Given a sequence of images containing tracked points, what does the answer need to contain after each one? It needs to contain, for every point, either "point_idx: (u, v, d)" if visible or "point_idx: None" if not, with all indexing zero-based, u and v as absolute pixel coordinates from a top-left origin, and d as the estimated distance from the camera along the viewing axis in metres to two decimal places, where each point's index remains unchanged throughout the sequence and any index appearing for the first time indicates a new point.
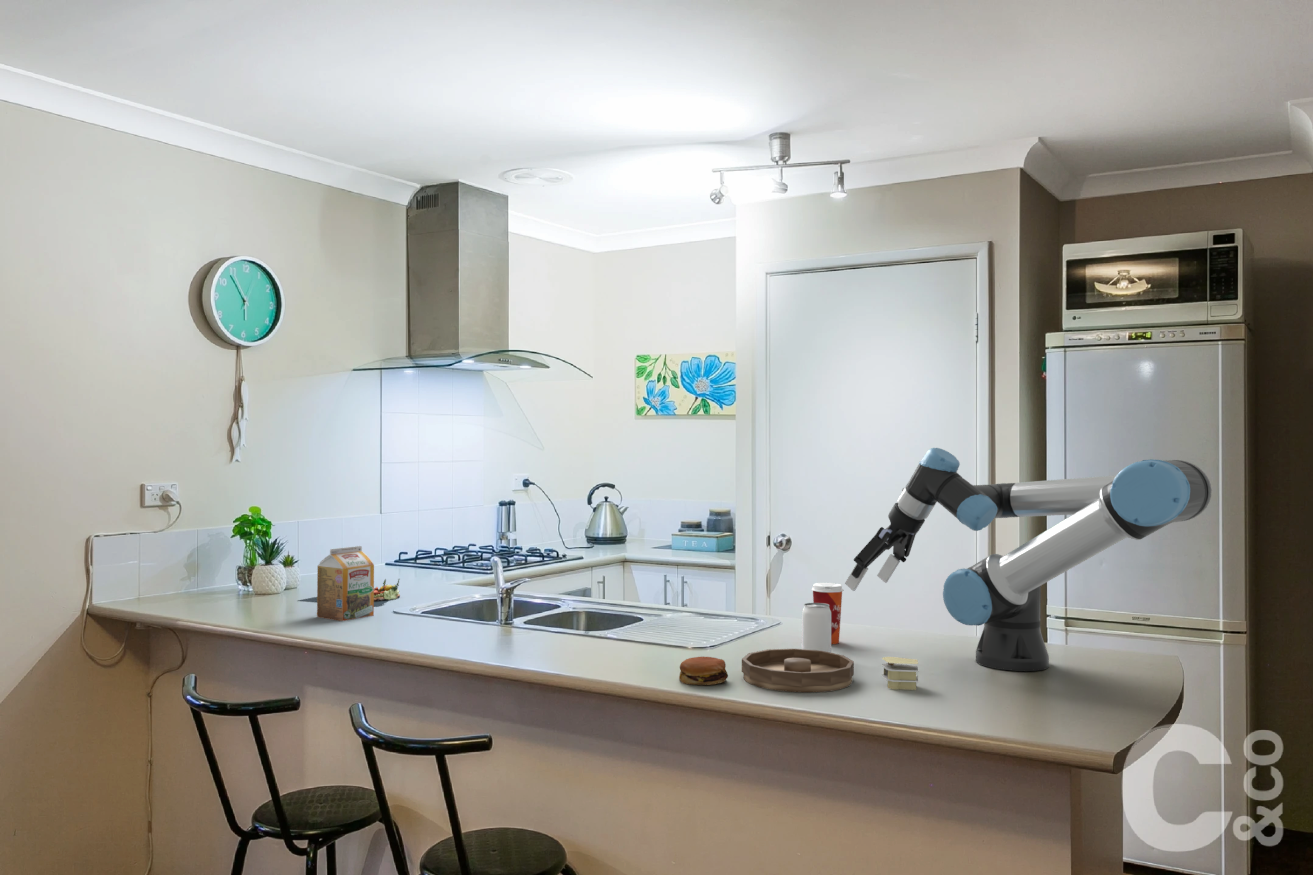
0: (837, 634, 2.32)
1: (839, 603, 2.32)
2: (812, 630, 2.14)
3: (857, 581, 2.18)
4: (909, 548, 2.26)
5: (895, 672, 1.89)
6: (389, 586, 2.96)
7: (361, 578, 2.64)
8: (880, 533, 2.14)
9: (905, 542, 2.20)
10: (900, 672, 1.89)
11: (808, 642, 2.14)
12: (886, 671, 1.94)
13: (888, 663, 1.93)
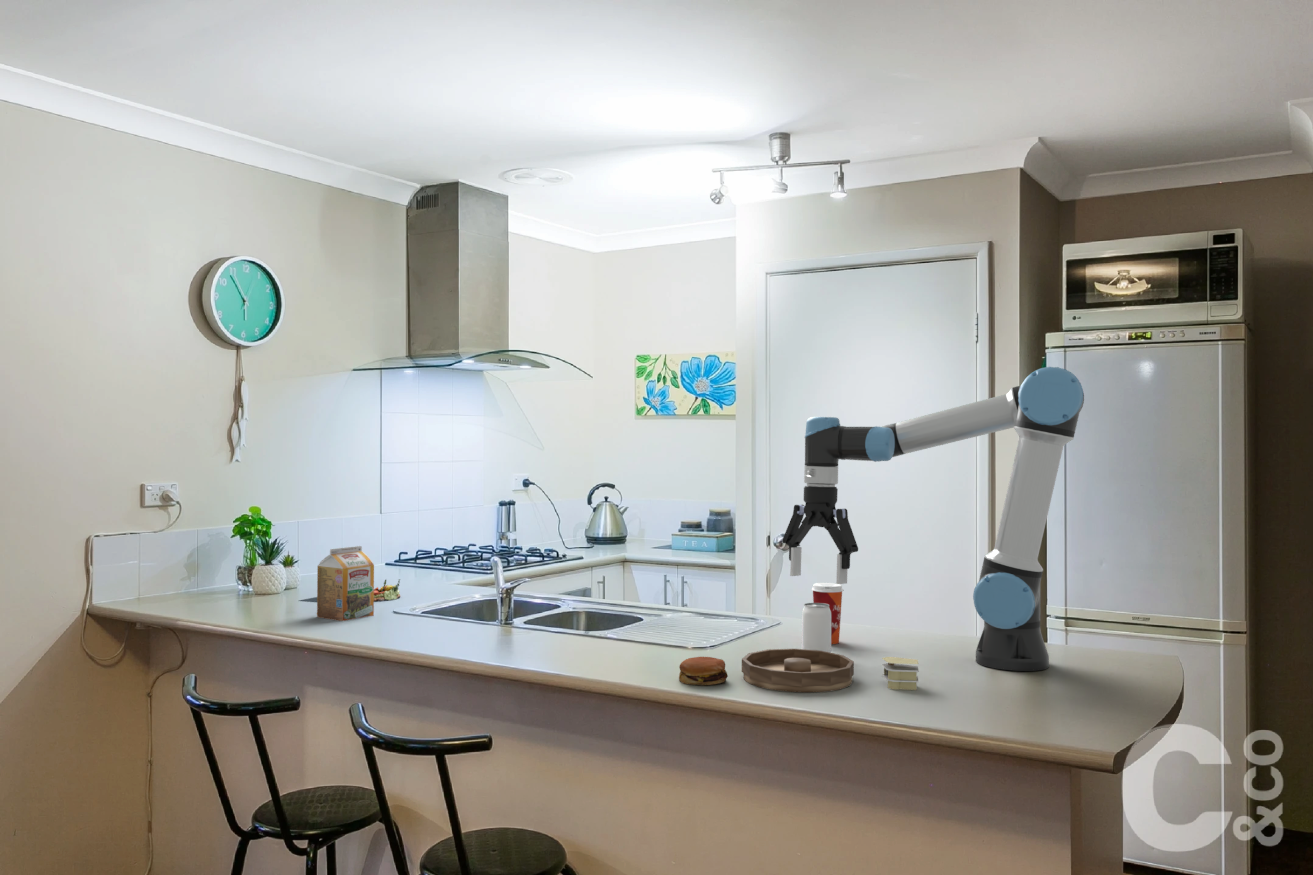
0: (837, 634, 2.32)
1: (839, 603, 2.32)
2: (812, 630, 2.14)
3: (846, 571, 2.12)
4: None
5: (895, 672, 1.89)
6: (389, 586, 2.96)
7: (361, 578, 2.64)
8: (843, 514, 2.12)
9: None
10: (900, 672, 1.89)
11: (808, 642, 2.14)
12: (886, 671, 1.94)
13: (888, 663, 1.93)
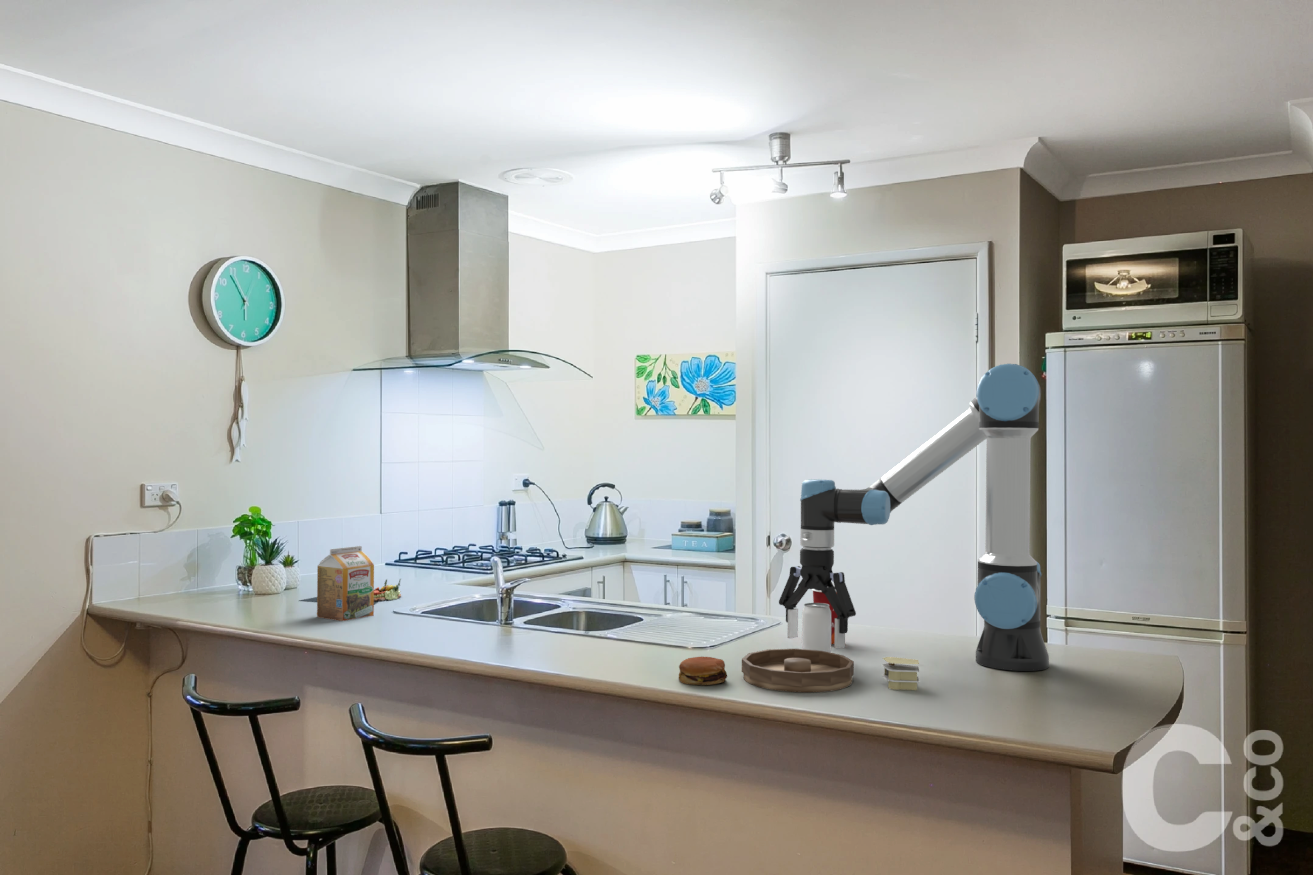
0: None
1: None
2: (812, 630, 2.14)
3: (844, 635, 2.12)
4: None
5: (896, 672, 1.89)
6: (390, 586, 2.96)
7: (361, 578, 2.64)
8: (840, 578, 2.11)
9: None
10: (901, 672, 1.89)
11: (808, 642, 2.14)
12: (887, 671, 1.94)
13: (889, 663, 1.93)
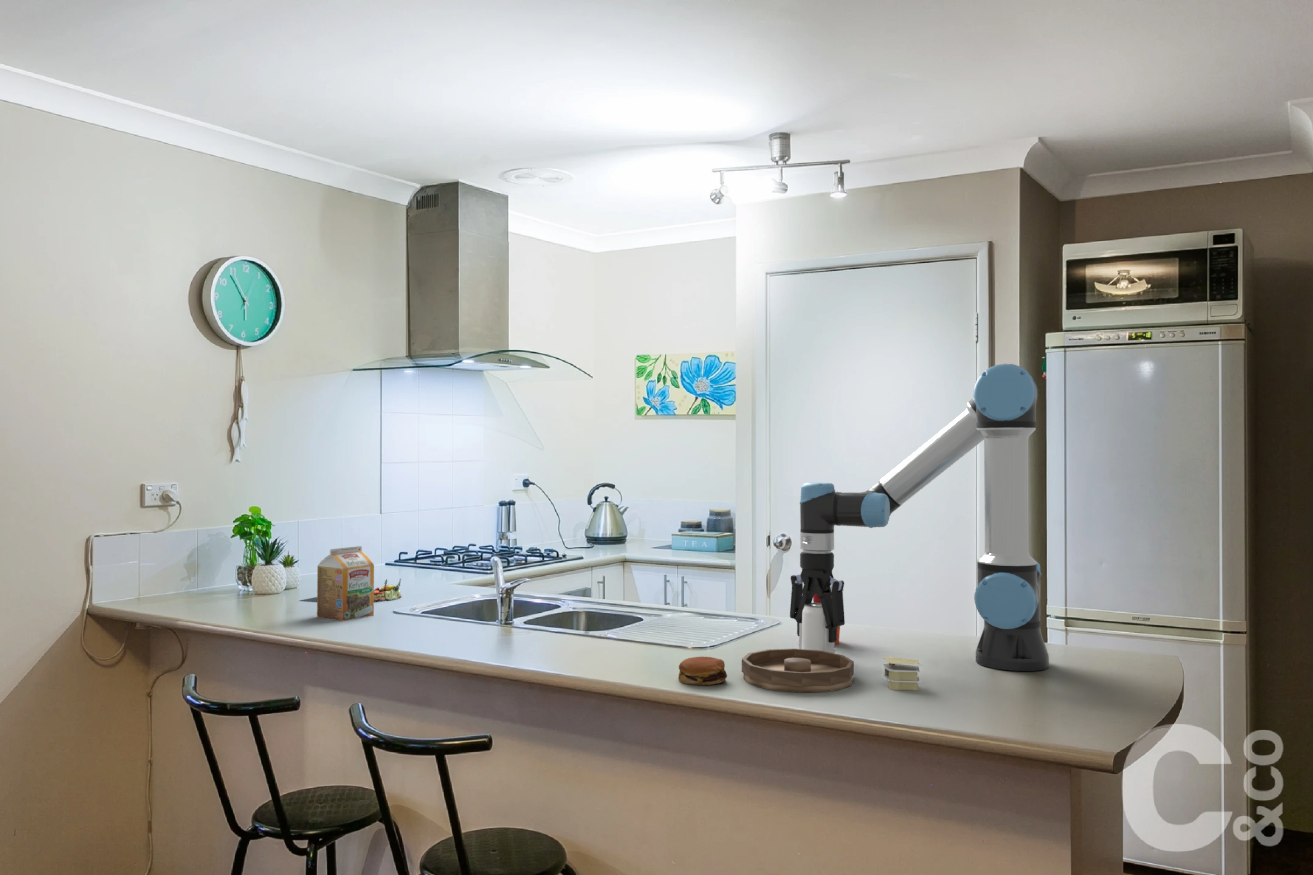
0: (837, 634, 2.32)
1: None
2: (812, 630, 2.14)
3: (833, 644, 2.14)
4: None
5: (896, 672, 1.89)
6: (390, 586, 2.96)
7: (361, 578, 2.64)
8: (839, 587, 2.11)
9: None
10: (901, 672, 1.89)
11: (808, 642, 2.14)
12: (887, 671, 1.93)
13: (889, 663, 1.93)
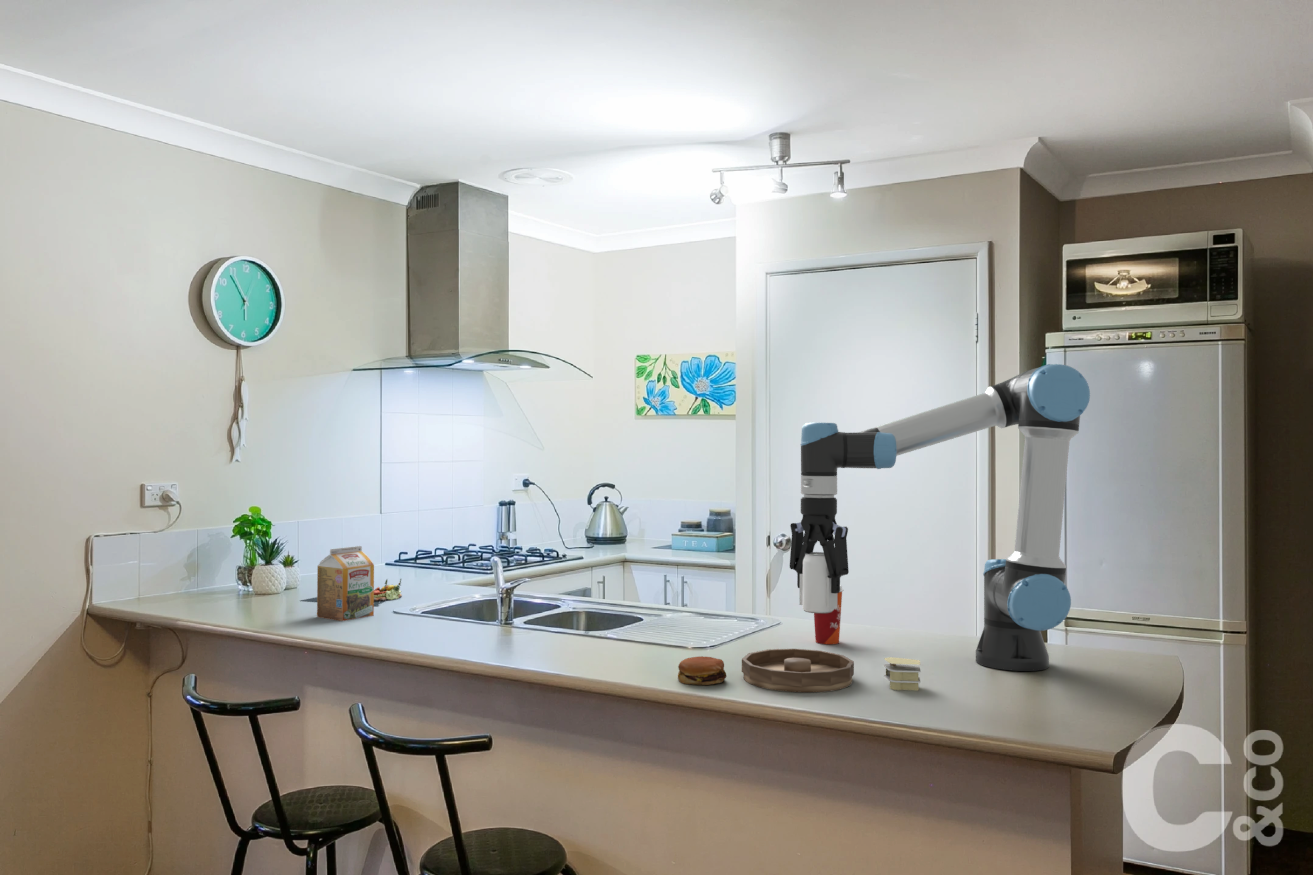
0: (837, 634, 2.32)
1: (839, 603, 2.32)
2: (813, 580, 1.99)
3: (836, 595, 1.99)
4: None
5: (897, 673, 1.89)
6: (391, 586, 2.96)
7: (361, 578, 2.64)
8: (842, 533, 1.96)
9: None
10: (902, 673, 1.89)
11: (809, 593, 1.99)
12: (888, 672, 1.93)
13: (890, 664, 1.93)
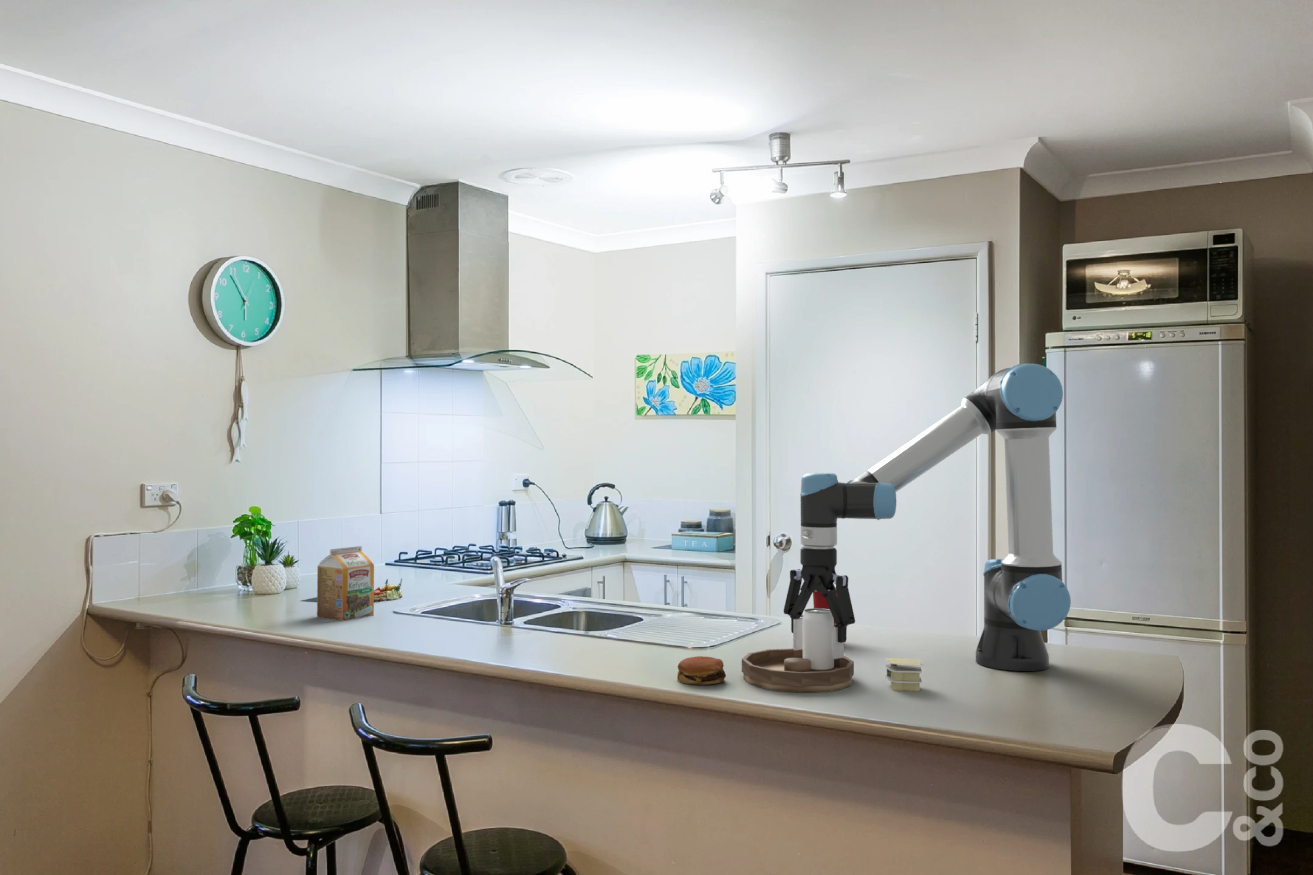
0: None
1: None
2: (813, 637, 1.99)
3: (842, 644, 1.98)
4: None
5: (898, 673, 1.88)
6: (391, 586, 2.96)
7: (361, 578, 2.64)
8: (843, 582, 1.96)
9: None
10: (903, 673, 1.89)
11: (809, 650, 1.99)
12: (889, 672, 1.93)
13: (891, 664, 1.92)
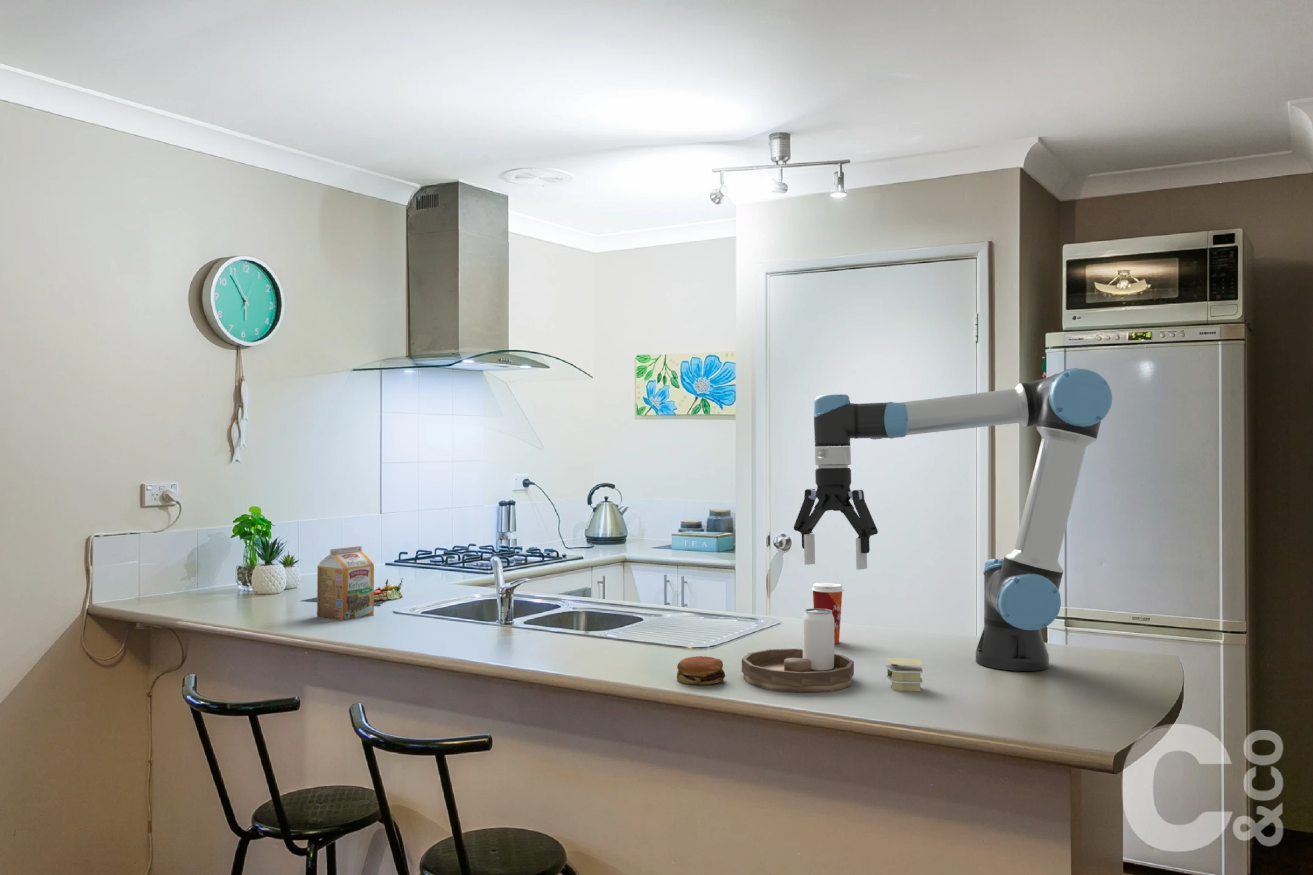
0: (837, 634, 2.32)
1: (839, 603, 2.32)
2: (813, 638, 1.98)
3: (865, 556, 2.01)
4: None
5: (899, 673, 1.88)
6: (392, 586, 2.96)
7: (361, 578, 2.64)
8: (859, 495, 2.00)
9: None
10: (904, 673, 1.88)
11: (810, 651, 1.99)
12: (890, 672, 1.93)
13: (892, 664, 1.92)
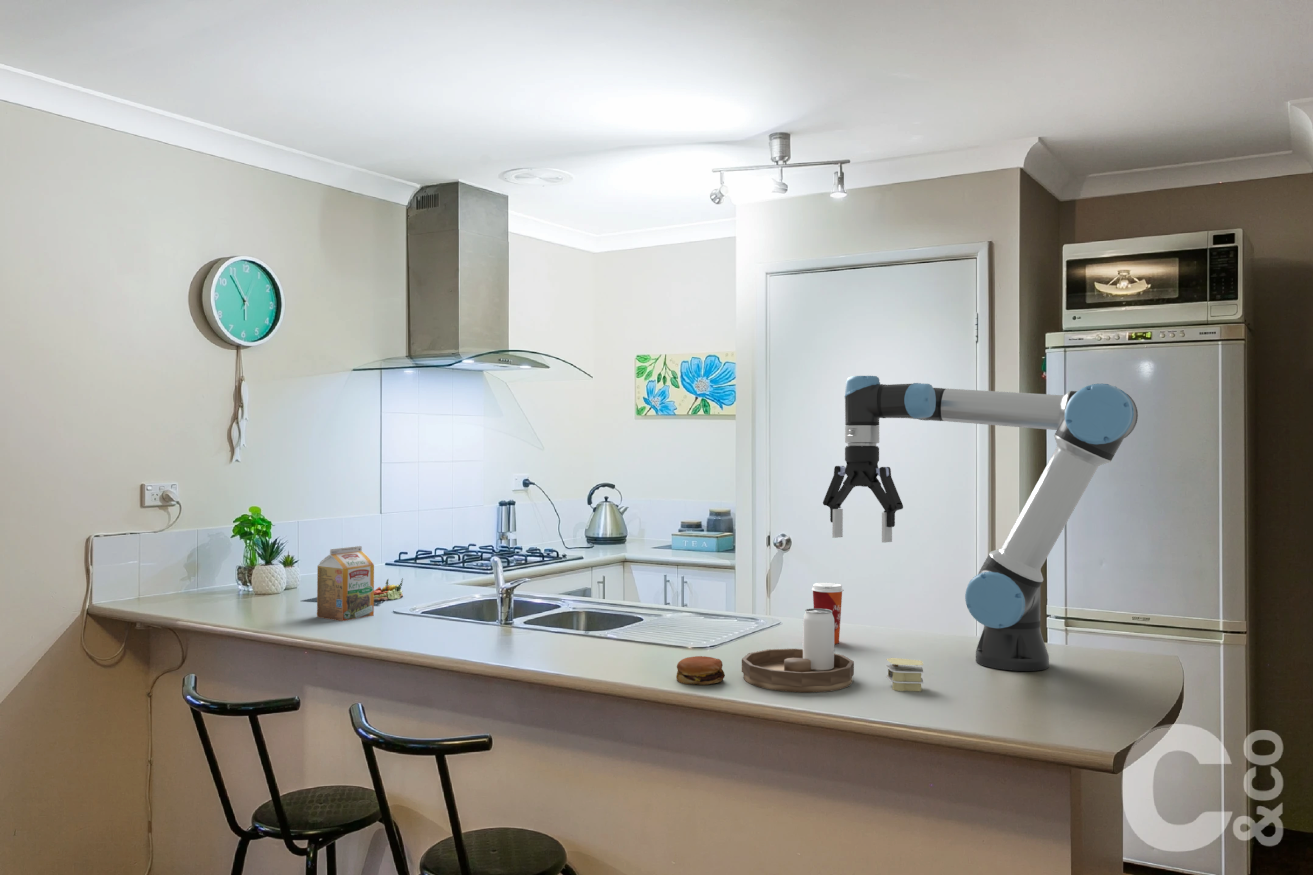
0: (837, 634, 2.32)
1: (839, 603, 2.32)
2: (813, 637, 1.98)
3: (891, 530, 2.11)
4: None
5: (900, 673, 1.88)
6: (392, 586, 2.97)
7: (361, 578, 2.64)
8: (886, 472, 2.11)
9: None
10: (905, 673, 1.88)
11: (810, 651, 1.99)
12: (890, 672, 1.93)
13: (893, 664, 1.92)
